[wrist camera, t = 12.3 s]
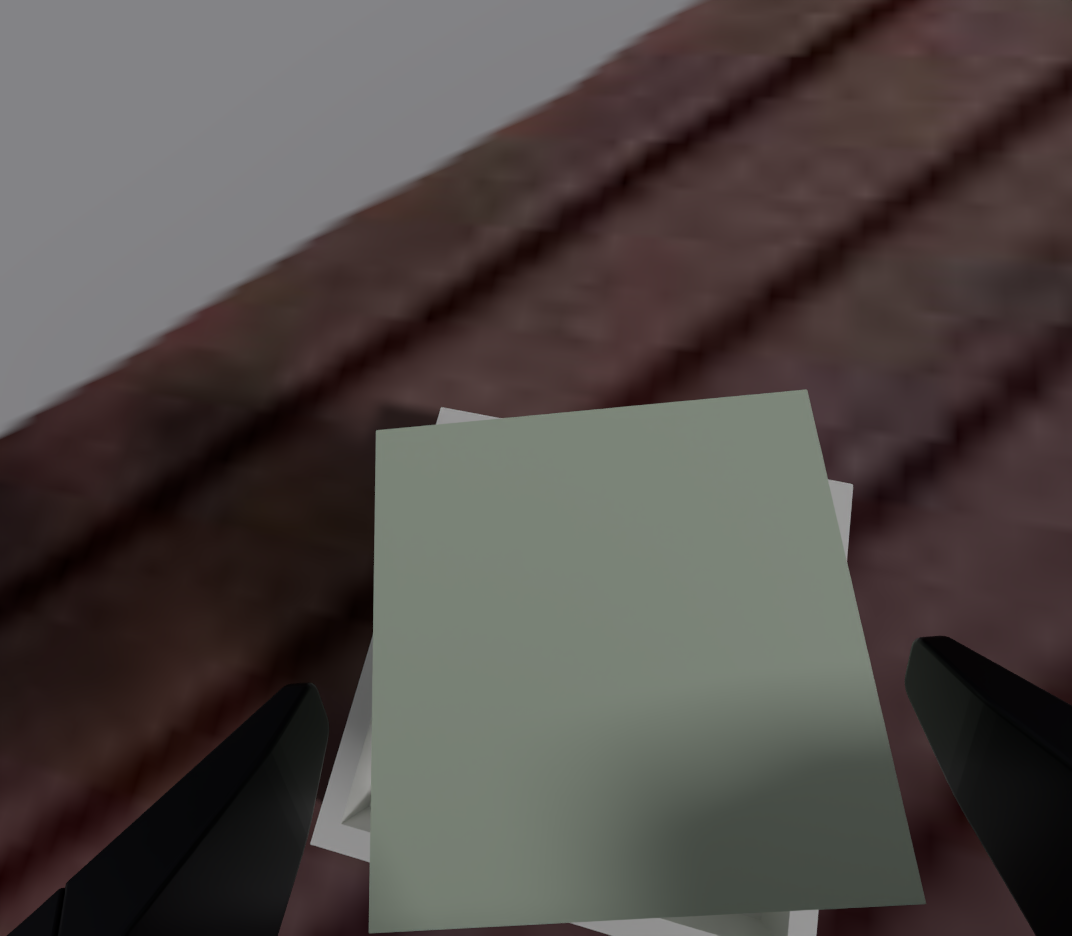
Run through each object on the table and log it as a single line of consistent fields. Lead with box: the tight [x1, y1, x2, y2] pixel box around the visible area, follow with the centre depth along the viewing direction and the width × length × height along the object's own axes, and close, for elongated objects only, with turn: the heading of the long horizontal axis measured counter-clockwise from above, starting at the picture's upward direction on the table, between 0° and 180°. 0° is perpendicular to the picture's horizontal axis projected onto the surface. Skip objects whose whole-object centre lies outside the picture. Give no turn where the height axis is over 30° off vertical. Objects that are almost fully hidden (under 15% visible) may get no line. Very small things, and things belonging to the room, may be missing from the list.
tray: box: [310, 407, 853, 936], centre depth 17 cm, size 12×12×3 cm
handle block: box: [369, 390, 926, 933], centre depth 12 cm, size 5×5×12 cm
